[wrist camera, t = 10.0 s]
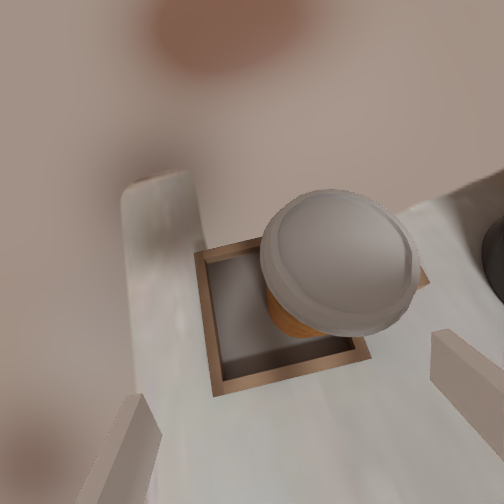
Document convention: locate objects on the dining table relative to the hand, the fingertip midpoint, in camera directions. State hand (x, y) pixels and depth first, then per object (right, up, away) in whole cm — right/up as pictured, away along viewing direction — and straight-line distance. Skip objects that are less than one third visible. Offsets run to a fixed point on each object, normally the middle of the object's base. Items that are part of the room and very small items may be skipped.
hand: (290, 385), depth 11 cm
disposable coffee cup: (+3, +1, +14) cm, 14 cm away
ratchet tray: (+4, +2, +15) cm, 16 cm away
